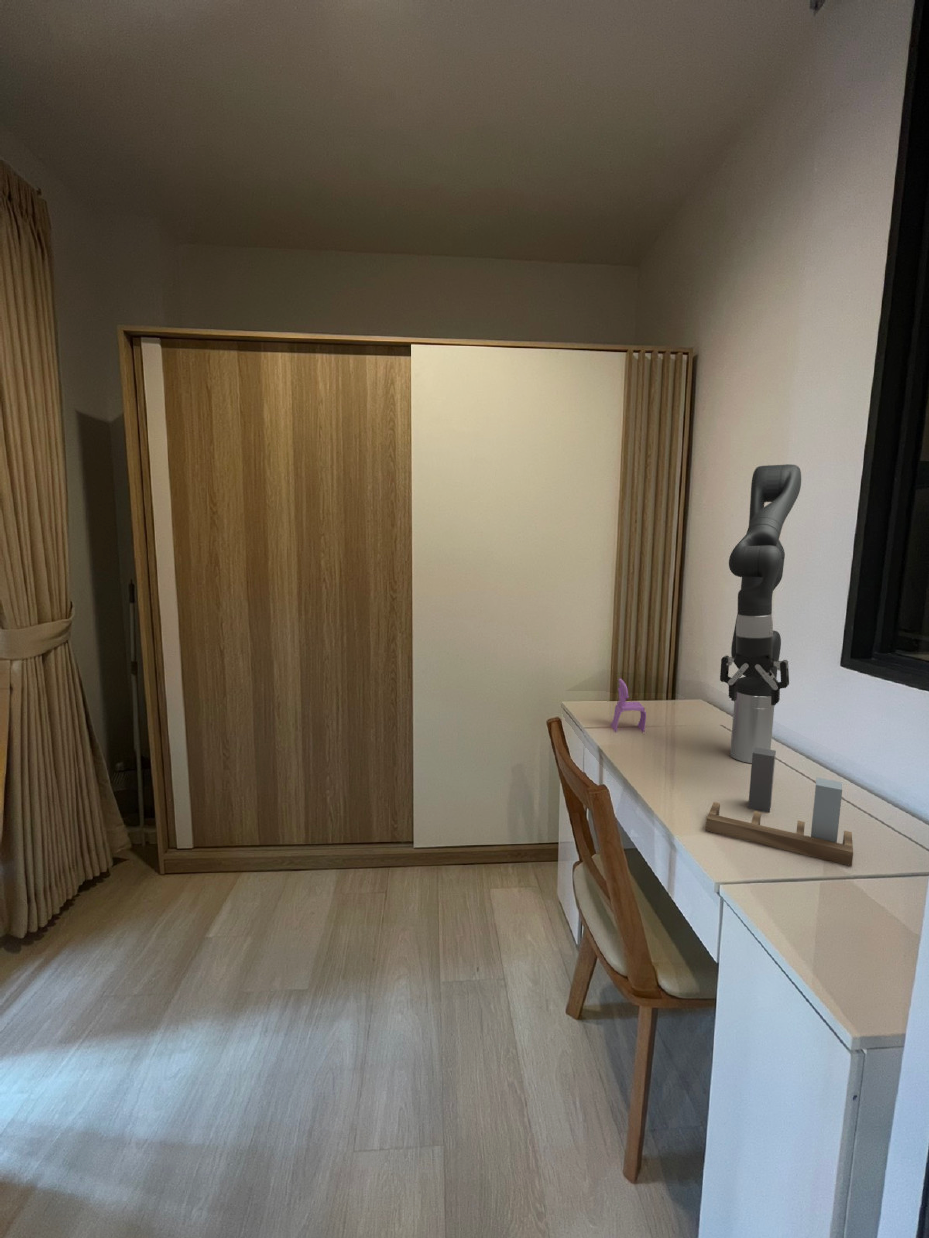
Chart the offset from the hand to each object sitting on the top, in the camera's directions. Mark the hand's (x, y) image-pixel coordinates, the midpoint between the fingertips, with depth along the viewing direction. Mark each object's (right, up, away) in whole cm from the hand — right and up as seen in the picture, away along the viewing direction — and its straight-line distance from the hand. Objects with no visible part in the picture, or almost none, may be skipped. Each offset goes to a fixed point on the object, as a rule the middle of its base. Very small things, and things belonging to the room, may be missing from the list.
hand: (753, 702), depth 140 cm
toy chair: (-19, -13, +36) cm, 43 cm away
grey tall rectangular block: (-5, -20, -14) cm, 25 cm away
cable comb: (-9, -22, -27) cm, 36 cm away
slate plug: (-1, -22, -29) cm, 37 cm away
